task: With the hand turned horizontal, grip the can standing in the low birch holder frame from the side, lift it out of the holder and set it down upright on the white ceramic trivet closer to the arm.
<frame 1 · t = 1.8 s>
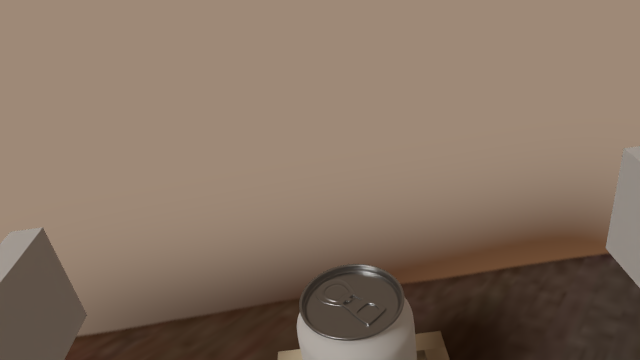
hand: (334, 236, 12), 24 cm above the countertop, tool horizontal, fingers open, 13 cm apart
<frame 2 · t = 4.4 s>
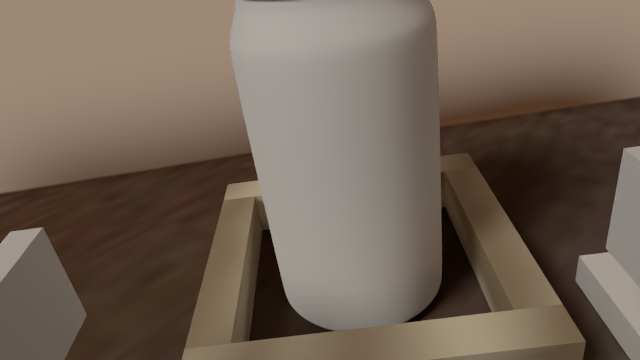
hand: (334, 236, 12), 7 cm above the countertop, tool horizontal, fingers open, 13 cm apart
holder: (362, 279, 21), on the countertop
can: (362, 284, 21), resting in holder
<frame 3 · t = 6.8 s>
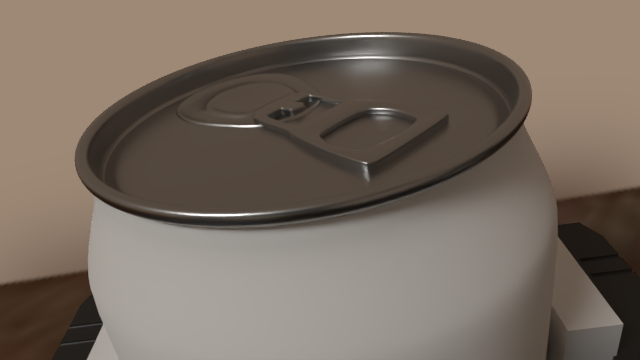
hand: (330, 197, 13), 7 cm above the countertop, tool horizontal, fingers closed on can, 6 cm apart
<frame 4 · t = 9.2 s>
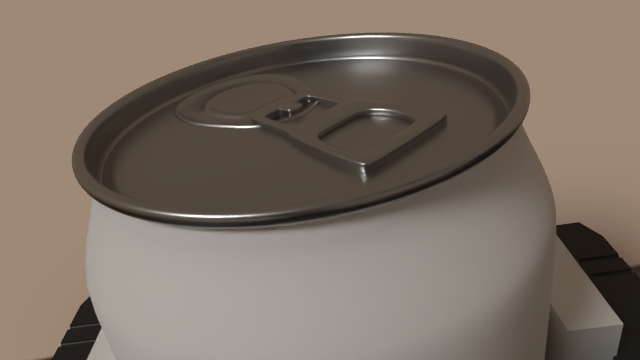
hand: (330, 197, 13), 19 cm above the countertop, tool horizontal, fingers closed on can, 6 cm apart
when the fingers open (10 cm above the countertop, at t = 11.5 s): can drops 2 cm, resting on trivet.
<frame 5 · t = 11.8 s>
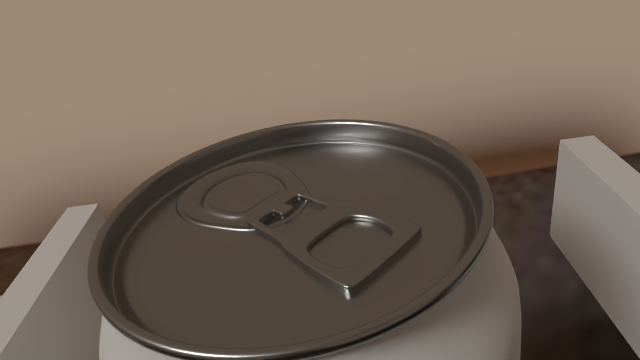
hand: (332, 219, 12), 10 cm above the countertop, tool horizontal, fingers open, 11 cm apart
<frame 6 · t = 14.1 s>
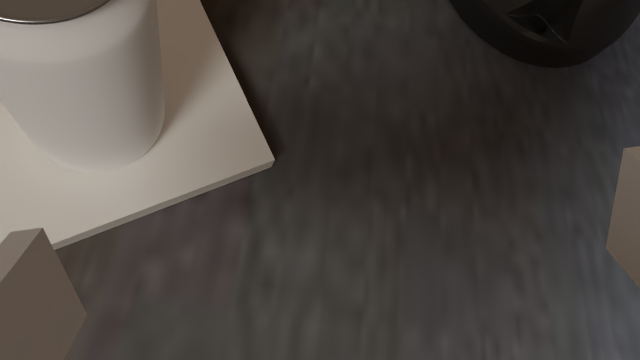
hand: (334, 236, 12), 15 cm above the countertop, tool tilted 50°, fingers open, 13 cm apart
trivet: (107, 120, 26), on the countertop
can: (98, 115, 25), point 1 cm above the countertop, touching trivet
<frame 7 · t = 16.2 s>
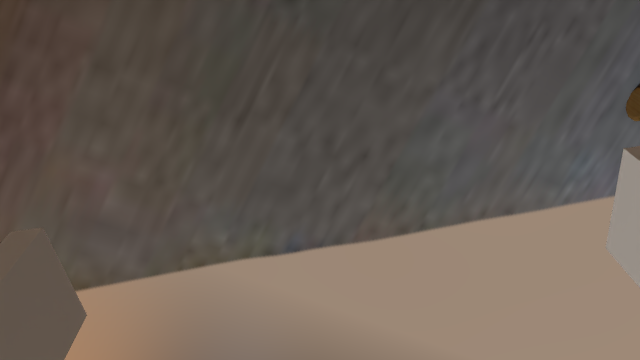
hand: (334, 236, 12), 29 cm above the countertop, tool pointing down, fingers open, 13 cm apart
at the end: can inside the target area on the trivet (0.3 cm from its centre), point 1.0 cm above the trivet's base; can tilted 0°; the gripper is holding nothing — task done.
